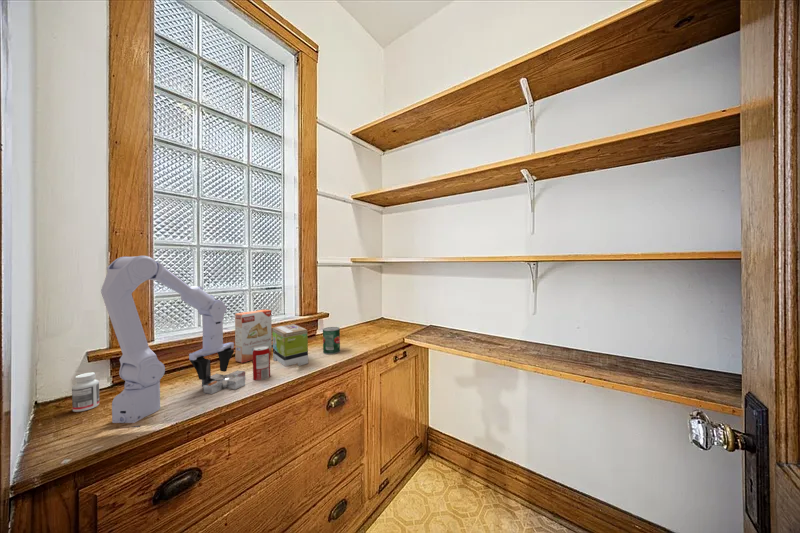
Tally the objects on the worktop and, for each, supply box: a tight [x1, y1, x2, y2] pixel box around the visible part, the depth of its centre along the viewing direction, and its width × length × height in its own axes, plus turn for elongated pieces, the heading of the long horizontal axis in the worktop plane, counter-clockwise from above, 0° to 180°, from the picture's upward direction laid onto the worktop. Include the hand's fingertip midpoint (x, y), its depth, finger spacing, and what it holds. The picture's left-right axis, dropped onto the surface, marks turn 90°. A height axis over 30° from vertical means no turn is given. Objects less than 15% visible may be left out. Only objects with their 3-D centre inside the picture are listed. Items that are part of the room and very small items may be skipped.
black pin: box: [201, 359, 212, 388], centre depth 93 cm, size 2×2×8 cm
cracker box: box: [234, 309, 273, 364], centre depth 127 cm, size 14×6×21 cm, turn 148°
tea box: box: [271, 323, 309, 367], centre depth 120 cm, size 15×10×15 cm, turn 42°
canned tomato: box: [322, 326, 341, 355], centre depth 134 cm, size 8×8×11 cm
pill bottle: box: [71, 371, 101, 413], centre depth 83 cm, size 5×5×10 cm
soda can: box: [252, 346, 271, 381], centre depth 101 cm, size 6×6×12 cm
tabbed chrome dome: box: [202, 370, 246, 395], centre depth 95 cm, size 13×13×3 cm
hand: (213, 375), depth 96 cm, fingers open, 7 cm apart
